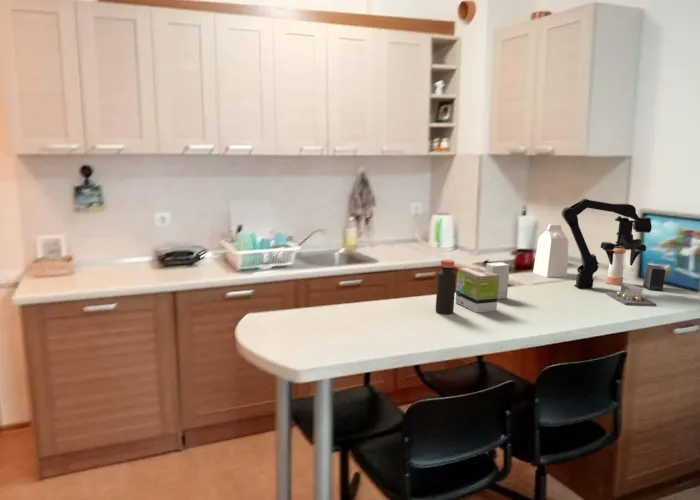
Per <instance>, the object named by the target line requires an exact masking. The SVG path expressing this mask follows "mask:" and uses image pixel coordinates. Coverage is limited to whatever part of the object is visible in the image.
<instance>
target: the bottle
mask: <svg viewBox="0 0 700 500" xmlns="http://www.w3.org/2000/svg"><path fill="white" fill-rule="evenodd" d="M454 267H455V261H454V260H451V259H441V260H440V268H441V270H440V271H439V272H438V273H437V283H436V296H435V297H436V298H435V312H436V313H437V314H441V315H452V314H453V313H454V309H455V308H454V307H455V306H454V305H455V296H456V282H457V274H456V272H455V271H454Z"/></svg>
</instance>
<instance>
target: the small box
mask: <svg viewBox="0 0 700 500" xmlns="http://www.w3.org/2000/svg"><path fill="white" fill-rule="evenodd" d="M665 277H666V268H663V267H662V266H660V265H654V264H645V272H644V276H643V283H642V284H643V286H644V288H646V289H647V290H649V291H659V292H663V290H664V283H665Z"/></svg>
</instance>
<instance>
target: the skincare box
mask: <svg viewBox="0 0 700 500" xmlns="http://www.w3.org/2000/svg"><path fill="white" fill-rule="evenodd" d="M485 270H486V271H489V272H492V273H495V274H497V275H499V285H498V298H497V300H502V299H503V300H505V299H508V290H509V278H510V276H509V273H510V264H508V263H505V262H502V261H501V262H491V263H489V262H488V263H485Z"/></svg>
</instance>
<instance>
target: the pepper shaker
mask: <svg viewBox="0 0 700 500" xmlns="http://www.w3.org/2000/svg"><path fill="white" fill-rule="evenodd" d="M613 250H614V251H615V252H614V253H613V263H612V265H611V264H610V263H609V265H608V268H607V270H608V271H607V275H606V278H605V280H606V283H607V284H609V285H615V286H621V284H624V283H623V282H624V277H623V274H624V255H625V253H626V252H627V250H626V249H624V248H614V249H613Z"/></svg>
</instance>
